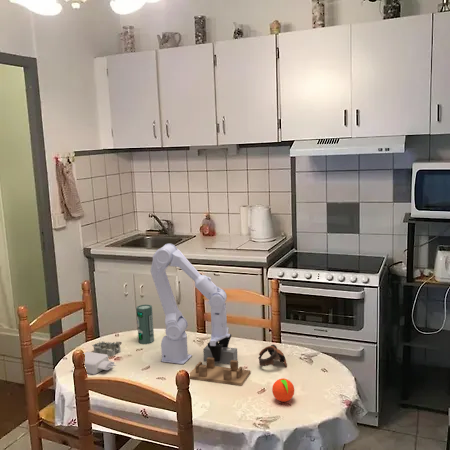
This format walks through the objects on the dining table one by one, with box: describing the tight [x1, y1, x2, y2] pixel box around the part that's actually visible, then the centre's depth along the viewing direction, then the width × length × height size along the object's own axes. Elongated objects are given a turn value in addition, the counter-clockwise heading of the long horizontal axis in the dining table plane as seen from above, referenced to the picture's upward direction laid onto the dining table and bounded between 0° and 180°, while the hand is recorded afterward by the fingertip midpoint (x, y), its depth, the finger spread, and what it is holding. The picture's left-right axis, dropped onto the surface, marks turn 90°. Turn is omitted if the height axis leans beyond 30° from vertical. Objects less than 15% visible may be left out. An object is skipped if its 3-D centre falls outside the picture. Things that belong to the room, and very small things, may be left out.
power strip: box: [202, 344, 239, 366], centre depth 192 cm, size 12×4×5 cm, turn 69°
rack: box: [188, 357, 252, 387], centre depth 179 cm, size 20×10×4 cm, turn 70°
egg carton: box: [91, 341, 122, 357], centre depth 205 cm, size 11×8×4 cm
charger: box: [72, 351, 117, 375], centre depth 189 cm, size 5×9×15 cm
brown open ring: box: [258, 344, 288, 368], centre depth 187 cm, size 12×10×8 cm
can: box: [135, 304, 155, 345], centre depth 213 cm, size 6×6×15 cm
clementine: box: [271, 377, 295, 403], centre depth 160 cm, size 8×7×7 cm
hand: (220, 357), depth 192 cm, fingers open, 7 cm apart
